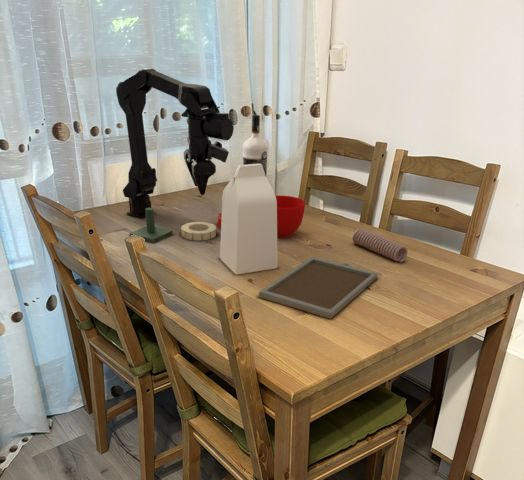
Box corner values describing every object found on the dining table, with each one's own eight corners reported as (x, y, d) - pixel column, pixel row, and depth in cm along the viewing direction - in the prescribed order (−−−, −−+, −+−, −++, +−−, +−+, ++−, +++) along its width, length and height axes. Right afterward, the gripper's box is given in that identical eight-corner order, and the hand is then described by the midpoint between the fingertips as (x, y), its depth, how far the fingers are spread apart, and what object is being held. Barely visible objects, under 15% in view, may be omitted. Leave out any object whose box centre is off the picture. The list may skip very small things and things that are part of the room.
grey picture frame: (258, 291, 132) (316, 253, 154) (258, 297, 133) (316, 258, 155) (331, 313, 124) (381, 269, 146) (330, 319, 124) (380, 275, 146)
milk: (236, 274, 144) (236, 172, 130) (219, 258, 153) (219, 161, 139) (277, 268, 148) (282, 168, 135) (259, 253, 157) (262, 158, 144)
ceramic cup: (284, 221, 182) (286, 190, 176) (310, 238, 169) (313, 205, 164) (248, 225, 177) (249, 194, 171) (272, 243, 164) (273, 210, 159)
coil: (410, 246, 153) (364, 227, 166) (399, 247, 151) (353, 228, 163) (406, 262, 156) (360, 242, 168) (395, 263, 153) (350, 243, 165)
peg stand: (129, 237, 165) (127, 209, 160) (149, 228, 171) (147, 202, 167) (153, 243, 161) (151, 215, 157) (172, 234, 168) (171, 207, 163)
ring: (174, 235, 167) (174, 228, 166) (195, 226, 174) (194, 219, 173) (203, 242, 162) (203, 235, 161) (222, 232, 170) (222, 225, 169)
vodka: (254, 201, 199) (256, 111, 183) (272, 208, 193) (276, 115, 178) (235, 206, 193) (235, 114, 177) (253, 213, 188) (255, 118, 172)
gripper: (233, 141, 151) (233, 198, 160) (219, 128, 167) (219, 181, 175) (193, 142, 149) (194, 200, 157) (182, 129, 164) (184, 182, 172)
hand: (199, 190), depth 165 cm, fingers open, 9 cm apart
